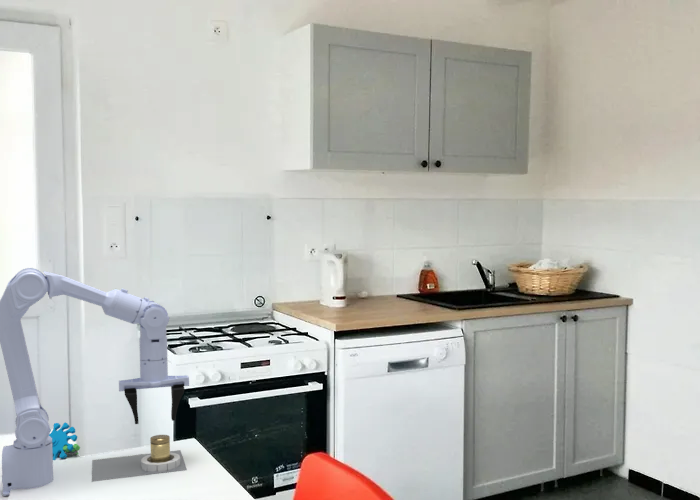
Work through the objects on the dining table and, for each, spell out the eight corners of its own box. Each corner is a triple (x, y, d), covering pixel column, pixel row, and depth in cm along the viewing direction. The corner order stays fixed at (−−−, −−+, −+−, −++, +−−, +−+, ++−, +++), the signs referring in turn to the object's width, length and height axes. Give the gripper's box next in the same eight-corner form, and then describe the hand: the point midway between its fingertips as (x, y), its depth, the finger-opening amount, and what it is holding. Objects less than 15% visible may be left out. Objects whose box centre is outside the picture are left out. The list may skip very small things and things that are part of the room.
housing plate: (91, 486, 149) (91, 474, 149) (92, 464, 163) (92, 453, 163) (187, 474, 156) (186, 462, 155) (180, 454, 169) (180, 443, 169)
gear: (22, 455, 165) (48, 416, 170) (35, 467, 169) (59, 429, 175) (61, 467, 161) (86, 427, 167) (73, 479, 165) (97, 439, 171)
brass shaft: (152, 469, 156) (151, 441, 156) (150, 463, 160) (149, 436, 160) (171, 466, 158) (170, 438, 157) (168, 460, 161) (168, 433, 161)
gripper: (118, 364, 152) (120, 429, 153) (190, 359, 157) (191, 422, 158) (118, 358, 159) (119, 420, 160) (186, 353, 164) (187, 414, 164)
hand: (155, 421), depth 159 cm, fingers open, 7 cm apart
